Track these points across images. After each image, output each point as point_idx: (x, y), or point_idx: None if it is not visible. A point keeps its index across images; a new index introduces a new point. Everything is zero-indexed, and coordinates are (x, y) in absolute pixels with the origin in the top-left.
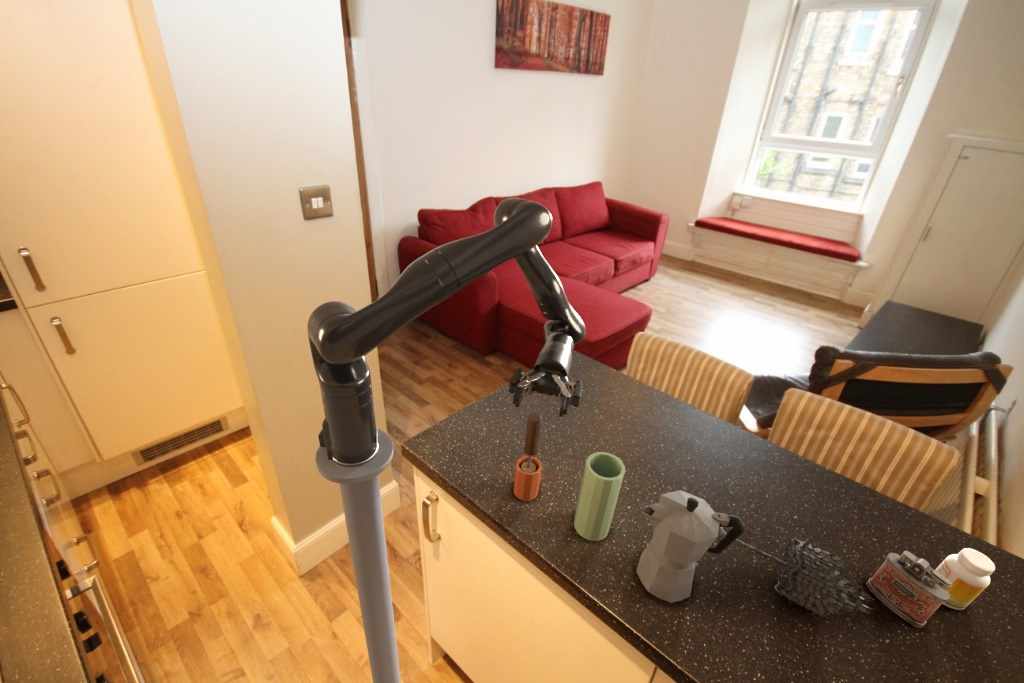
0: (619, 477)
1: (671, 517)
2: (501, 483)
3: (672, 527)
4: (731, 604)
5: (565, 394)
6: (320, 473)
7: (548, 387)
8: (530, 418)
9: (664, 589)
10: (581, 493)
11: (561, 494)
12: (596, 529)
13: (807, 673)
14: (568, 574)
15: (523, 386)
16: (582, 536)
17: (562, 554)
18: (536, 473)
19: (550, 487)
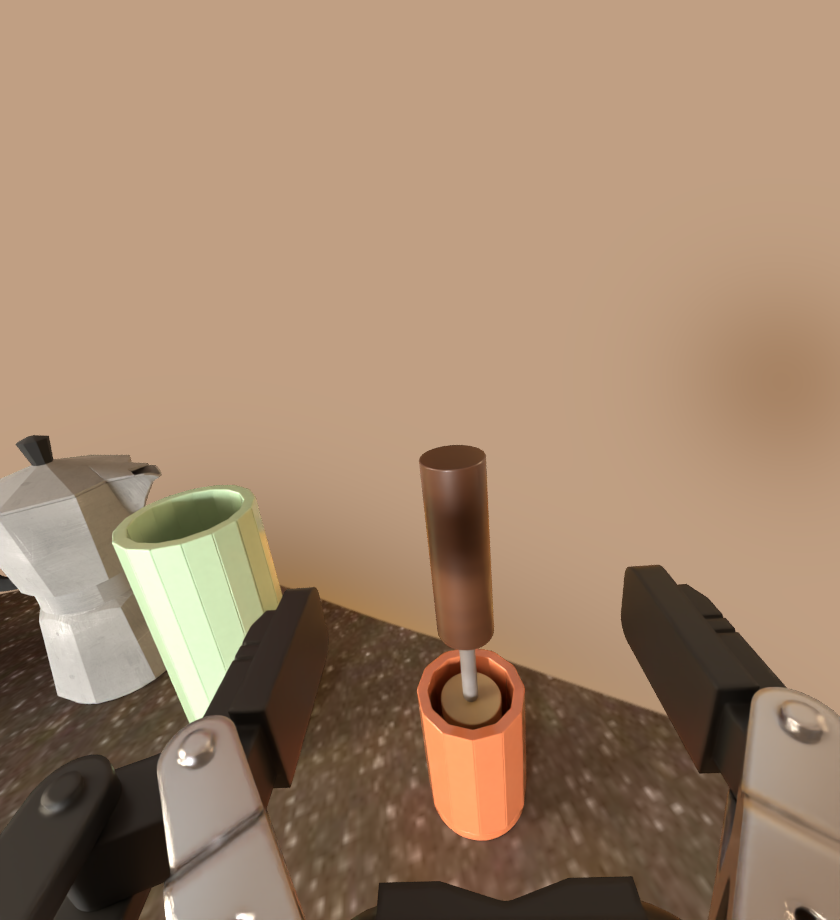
0: (164, 498)
1: (104, 461)
2: (579, 792)
3: (119, 456)
4: (27, 644)
5: (228, 748)
6: None
7: (455, 893)
8: (468, 449)
9: None
10: (281, 593)
11: (342, 821)
12: None
13: (8, 593)
14: (336, 604)
15: (751, 718)
16: None
17: (346, 632)
18: (431, 663)
19: (387, 846)
